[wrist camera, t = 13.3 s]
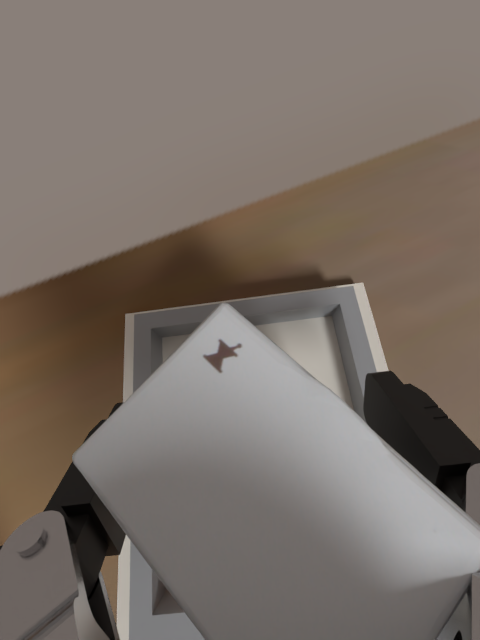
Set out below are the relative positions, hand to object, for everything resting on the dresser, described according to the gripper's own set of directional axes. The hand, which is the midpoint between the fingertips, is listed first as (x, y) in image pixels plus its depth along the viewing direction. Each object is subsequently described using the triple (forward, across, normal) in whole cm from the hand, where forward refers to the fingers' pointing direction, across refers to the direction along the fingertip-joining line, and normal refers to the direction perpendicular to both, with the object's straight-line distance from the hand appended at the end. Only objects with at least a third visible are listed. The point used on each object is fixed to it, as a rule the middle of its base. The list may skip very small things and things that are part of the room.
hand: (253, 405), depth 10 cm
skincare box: (+4, 0, +6) cm, 7 cm away
